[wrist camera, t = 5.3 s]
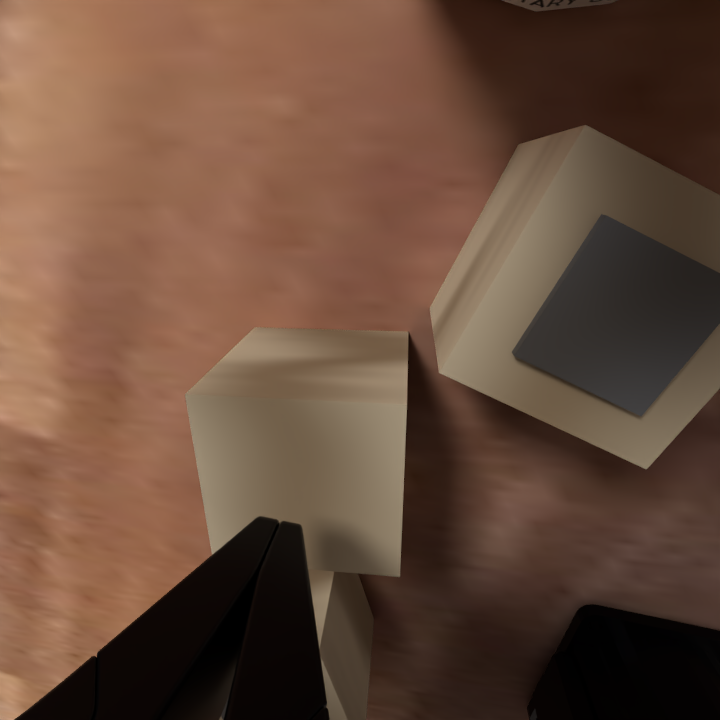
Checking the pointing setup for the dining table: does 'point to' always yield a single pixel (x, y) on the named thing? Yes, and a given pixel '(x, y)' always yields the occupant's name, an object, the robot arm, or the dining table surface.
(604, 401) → the labelled block
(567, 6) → the supplement can
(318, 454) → the plain block
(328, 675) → the labelled block
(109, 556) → the dining table surface
